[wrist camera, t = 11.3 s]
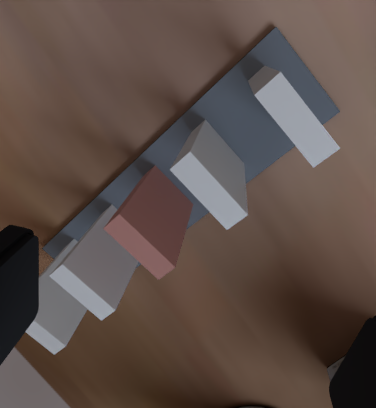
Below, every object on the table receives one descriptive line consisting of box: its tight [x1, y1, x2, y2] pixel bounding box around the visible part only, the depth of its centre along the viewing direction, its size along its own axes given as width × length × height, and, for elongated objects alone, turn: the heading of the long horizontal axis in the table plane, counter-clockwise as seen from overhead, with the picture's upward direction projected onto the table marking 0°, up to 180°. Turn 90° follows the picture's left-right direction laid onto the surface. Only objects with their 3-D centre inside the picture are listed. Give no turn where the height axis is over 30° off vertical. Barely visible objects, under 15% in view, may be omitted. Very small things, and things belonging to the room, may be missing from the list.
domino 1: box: [26, 239, 87, 355], centre depth 30 cm, size 2×5×10 cm, turn 43°
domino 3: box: [170, 120, 248, 230], centre depth 24 cm, size 2×5×10 cm, turn 43°
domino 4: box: [248, 66, 340, 168], centre depth 21 cm, size 2×5×10 cm, turn 43°
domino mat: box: [42, 27, 340, 268], centre depth 30 cm, size 30×8×1 cm, turn 133°
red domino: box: [103, 165, 193, 280], centre depth 26 cm, size 2×5×10 cm, turn 44°
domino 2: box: [49, 205, 139, 321], centre depth 28 cm, size 2×5×10 cm, turn 43°
